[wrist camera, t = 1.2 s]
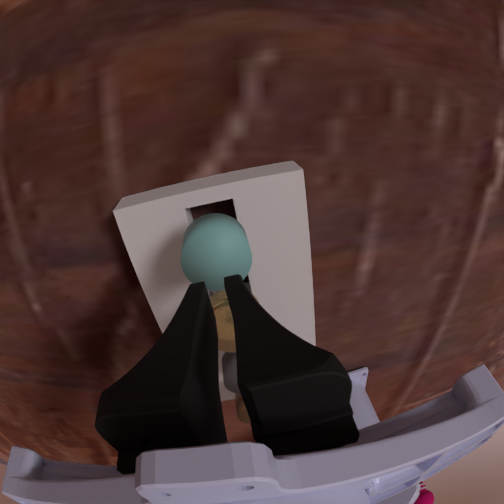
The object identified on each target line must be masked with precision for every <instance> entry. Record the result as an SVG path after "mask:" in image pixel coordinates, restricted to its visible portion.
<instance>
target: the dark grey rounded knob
mask: <svg viewBox="0 0 504 504" xmlns="http://www.w3.org/2000/svg"><path fill="white" fill-rule="evenodd" d="M222 370H223V381H224V385H225V387H226V388H227V389H228V390H229V391H231V392H233V393H236V394H241V393H240V390H239V387H238V385H237V360H236V352H225V353H224V355H223V357H222Z"/></svg>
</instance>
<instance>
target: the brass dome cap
mask: <svg viewBox="0 0 504 504" xmlns="http://www.w3.org/2000/svg"><path fill="white" fill-rule="evenodd" d="M251 294H252V293H251ZM252 295H253V294H252ZM253 296H254V295H253ZM254 298H255V299H256V300H257V301H258V299H257V298H256V297H255V296H254ZM210 301H211V304H212V308H213V311H214V314H215V317H216V324H217V332H218V350H221V351H224V352H236V345H235V333H234V323H233V317H232V314H231V310H230V306H229V303H228V299H227V295H226V291H225V290H221V291H217V293H215V294H214V295H212V296H211V297H210ZM258 303H259V301H258Z"/></svg>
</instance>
